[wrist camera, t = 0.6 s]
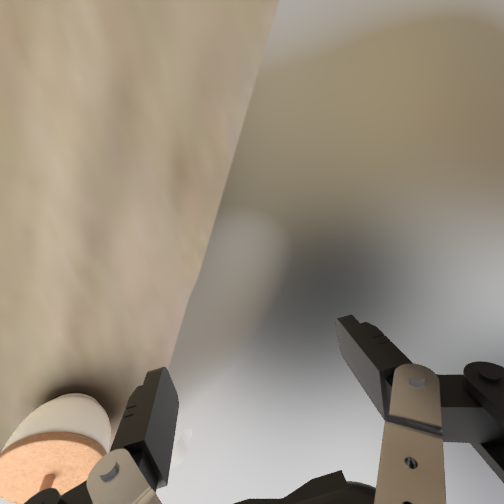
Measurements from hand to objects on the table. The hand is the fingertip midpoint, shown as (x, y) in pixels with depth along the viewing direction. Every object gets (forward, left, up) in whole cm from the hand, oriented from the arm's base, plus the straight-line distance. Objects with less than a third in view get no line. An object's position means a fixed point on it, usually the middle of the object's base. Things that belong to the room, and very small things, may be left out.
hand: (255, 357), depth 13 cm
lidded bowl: (0, -37, -26) cm, 45 cm away
